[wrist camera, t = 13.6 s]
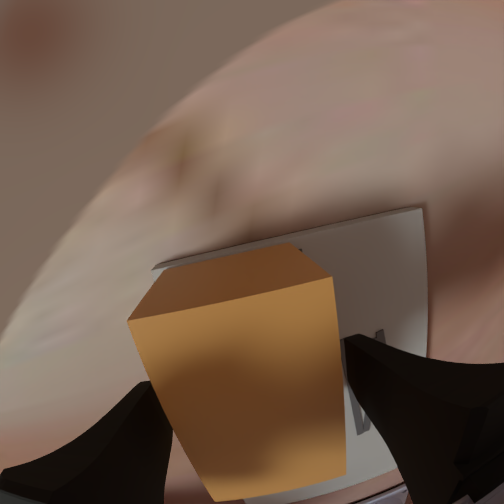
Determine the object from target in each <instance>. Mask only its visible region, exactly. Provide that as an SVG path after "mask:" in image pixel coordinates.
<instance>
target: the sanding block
mask: <svg viewBox="0 0 504 504" xmlns="http://www.w3.org/2000/svg"><path fill="white" fill-rule="evenodd" d="M127 323H128V326H129V328H130V331H131V334H132V337H133V339H134V342H135V345H136V347H137V350H138V352H139V355H140V357H141V360H142V362H143V365H144V367H145V369H146V372H147V374H148V377H149V379H150V381H151V384H152V386H153V388H154V390H155V393H156V395H157V397H158V399H159V401H160V403H161V406H162V408H163V410H164V412H165V414H166V416H167V418H168V420H169V422H170V424H171V426H172V428H173V430H174V432H175V434H176V436H177V438H178V440H179V442H180V444H181V445H182V447H183V449H184V451H185V453H186V455H187V456H188V458H189V460H190V462H191V464H192V465H193V467H194V469H195V471H196V472H197V474H198V476H199V477H200V479H201V481H202V482H203V484H204V486H205V487H206V489H207V490H208V492H209V494H210V495H211V497H212V498H213V500H214V501H215V502H219V501H229V500H237V499H244V498H251V497H257V496H263V495H269V494H274V493H279V492H284V491H288V490H293V489H297V488H301V487H305V486H309V485H313V484H317V483H320V482H324V481H327V480H331V479H334V478H337V477H340V476H344V475H346V428H345V406H344V388H343V374H342V361H341V350H340V339H339V329H338V319H337V310H336V302H335V294H334V286H333V278H332V276H331V275H330V274H329V273H327V272H326V271H325V270H324V269H322V268H321V267H320V266H319V265H317V264H316V263H315V262H314V261H312V260H311V259H310V258H309V257H307V256H306V255H305V254H304V253H302V252H301V251H300V250H299V249H297V248H296V247H295V246H294V245H292V244H291V243H290V242H288V243H283V244H279V245H274V246H270V247H265V248H260V249H256V250H251V251H247V252H242V253H238V254H233V255H229V256H224V257H220V258H215V259H211V260H206V261H202V262H197V263H192V264H188V265H183V266H179V267H174V268H170V269H165V270H163V272H162V273H161V274H160V276H159V277H158V278H157V280H156V281H155V282H154V284H153V285H152V287H151V288H150V289H149V291H148V292H147V293H146V295H145V296H144V297H143V299H142V300H141V302H140V303H139V304H138V306H137V307H136V309H135V310H134V311H133V313H132V314H131V316H130V317H129V318H128V320H127Z"/></svg>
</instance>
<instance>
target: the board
mask: <svg viewBox="0 0 504 504" xmlns="http://www.w3.org/2000/svg"><path fill="white" fill-rule="evenodd" d="M288 242H290V243H291V244H292V245H294V246H295V247H296V248H297V249H299V250H300V251H301V252H302V253H304V254H305V255H306V256H307V257H309V258H310V259H311V260H312V261H314V262H315V263H316V264H317V265H319V266H320V267H321V268H322V269H324V270H325V271H326V272H327V273H329V274H330V275H331V276H332V278H333V286H334V294H335V302H336V310H337V319H338V329H339V339H340V350H341V361H342V374H343V388H344V406H345V428H346V475H344V476H340V477H337V478H334V479H331V480H327V481H324V482H320V483H317V484H313V485H309V486H305V487H301V488H297V489H293V490H288V491H284V492H279V493H274V494H269V495H263V496H257V497H251V498H244V499H243V500H244V502H245V503H246V504H288V503H293V502H297V501H301V500H305V499H309V498H313V497H317V496H320V495H324V494H327V493H330V492H334V491H337V490H340V489H343V488H346V487H349V486H352V485H355V484H358V483H361V482H363V481H366V480H369V479H371V478H374V477H376V476H379V475H381V474H384V473H386V472H389V471H391V470H393V469H396V468H398V467H397V464H396V462H395V460H394V458H393V456H392V454H391V452H390V450H389V448H388V446H387V445H386V443H385V441H384V440H383V438H382V437H381V435H380V434H379V432H378V431H377V429H376V428H375V426H374V425H373V423H372V422H371V421H370V419H369V418H368V416H367V415H366V413H365V412H364V410H363V409H362V407H361V406H360V404H359V403H358V401H357V400H356V397H355V395H354V393H353V391H352V389H351V387H350V385H349V383H348V381H347V369H346V357H345V346H344V338H345V337H348V336H352V335H355V334H358V333H359V334H362V335H365V336H367V337H370V338H372V339H375V340H377V341H379V342H382V343H384V344H387V345H389V346H392V347H395V348H397V349H400V350H403V351H406V352H409V353H412V354H415V355H419V356H422V357H426V348H427V326H428V281H427V258H426V244H425V232H424V222H423V213H422V208H416V207H407V208H403V209H398V210H393V211H389V212H384V213H380V214H375V215H371V216H366V217H362V218H357V219H353V220H348V221H344V222H339V223H335V224H330V225H326V226H321V227H317V228H312V229H308V230H304V231H299V232H295V233H290V234H286V235H282V236H277V237H273V238H268V239H264V240H260V241H255V242H251V243H247V244H242V245H238V246H234V247H229V248H225V249H221V250H217V251H212V252H208V253H204V254H199V255H195V256H191V257H187V258H182V259H178V260H174V261H170V262H166V263H161V264H157V265H155V267H154V268H153V269H152V270H151V273H152V276H153V280H154V282H155V281H156V280H157V278H158V277H159V276H160V274H161V273H162V272H163V270H165V269H170V268H174V267H179V266H183V265H188V264H192V263H197V262H202V261H206V260H211V259H215V258H220V257H224V256H229V255H233V254H238V253H242V252H247V251H251V250H256V249H260V248H265V247H270V246H274V245H279V244H283V243H288Z"/></svg>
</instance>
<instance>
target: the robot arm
mask: <svg viewBox="0 0 504 504" xmlns="http://www.w3.org/2000/svg"><path fill="white" fill-rule="evenodd" d="M344 346H345V357H346V369H347V381H348V383H349V385H350V387H351V389H352V391H353V393H354V395H355V397H356V400H357V401H358V403H359V404H360V406H361V407H362V409H363V410H364V412H365V413H366V415H367V416H368V418H369V419H370V421H371V422H372V423H373V425H374V426H375V428H376V429H377V431H378V432H379V434H380V435H381V437H382V438H383V440H384V441H385V443H386V445H387V446H388V448H389V450H390V452H391V454H392V456H393V458H394V460H395V462H396V464H397V467H398V469H399V471H400V473H401V475H402V478H403V480H404V482H405V484H403V485H400V486H398V487H396V488H394V489H391V490H389V491H387V492H384V493H382V494H379V495H377V496H374V497H372V498H369V499H367V500H364V501H361V502H358V503H355V504H405V501H406V498H407V495H408V492H409V494H410V497H411V499H412V501H413V504H504V363H495V364H466V363H454V362H446V361H441V360H436V359H430V358H426V357H422V356H419V355H415V354H412V353H409V352H406V351H403V350H400V349H397V348H395V347H392V346H389V345H387V344H384V343H382V342H379V341H377V340H375V339H372V338H370V337H367V336H365V335H362V334H359V333H358V334H355V335H352V336H348V337H345V338H344ZM172 437H173V428H172V426H171V424H170V422H169V420H168V418H167V416H166V414H165V412H164V410H163V408H162V406H161V403H160V401H159V399H158V397H157V395H156V393H155V390H154V388H153V386H152V384H151V381H144V382H140V383H139V384H137V385H136V386H135V387H134V388H133V389H132V390H131V391H130V392H129V393H128V394H127V395H126V396H125V397H124V398H123V399H122V400H121V401H120V402H118V403H117V404H116V405H115V406H114V407H113V408H112V409H111V410H110V411H109V412H108V413H107V414H106V415H105V416H104V417H102V418H101V419H100V420H99V421H98V422H97V423H96V424H95V425H93V426H92V427H91V428H90V429H88V430H87V431H86V432H84V433H83V434H82V435H80V436H79V437H77V438H76V439H74V440H73V441H71V442H70V443H68V444H66V445H64V446H63V447H61V448H59V449H57V450H56V451H54V452H52V453H50V454H48V455H45V456H43V457H41V458H38V459H36V460H33V461H31V462H28V463H25V464H21V465H18V466H14V467H10V468H6V469H4V470H3V471H2V473H1V474H0V504H164V488H165V481H166V475H167V469H168V463H169V458H170V452H171V446H172Z"/></svg>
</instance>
